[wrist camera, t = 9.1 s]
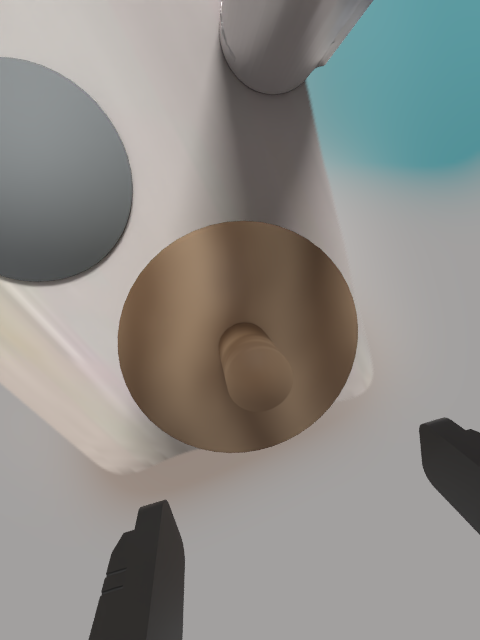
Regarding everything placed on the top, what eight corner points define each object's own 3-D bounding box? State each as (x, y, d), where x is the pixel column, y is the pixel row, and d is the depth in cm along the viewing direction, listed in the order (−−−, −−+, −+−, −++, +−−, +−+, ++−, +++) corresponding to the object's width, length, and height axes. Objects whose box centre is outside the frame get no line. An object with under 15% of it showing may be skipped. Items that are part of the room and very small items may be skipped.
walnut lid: (330, 192, 22) (386, 173, 15) (367, 408, 26) (422, 460, 20) (81, 260, 20) (32, 269, 14) (165, 474, 25) (156, 552, 19)
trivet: (93, 40, 27) (91, 37, 26) (156, 255, 31) (156, 256, 31) (-136, 82, 25) (-142, 80, 25) (-33, 301, 30) (-36, 302, 30)
